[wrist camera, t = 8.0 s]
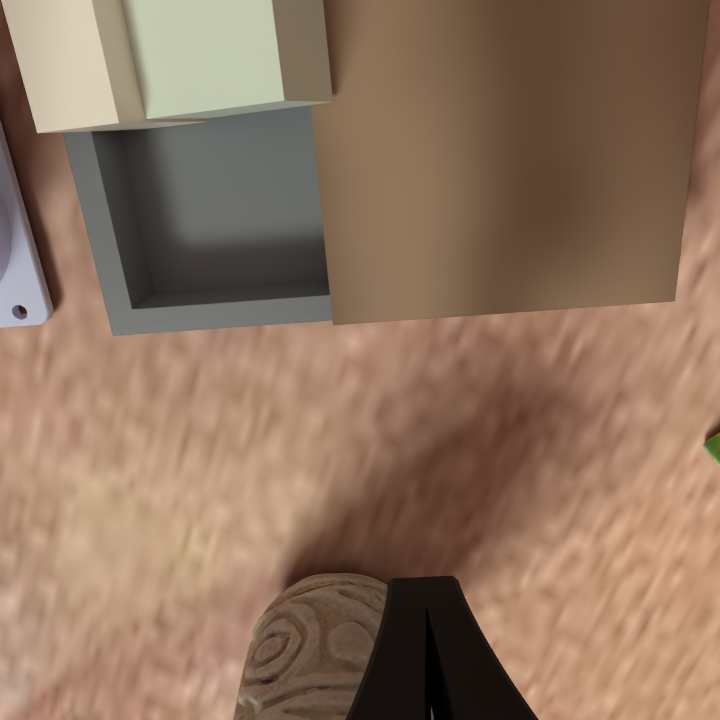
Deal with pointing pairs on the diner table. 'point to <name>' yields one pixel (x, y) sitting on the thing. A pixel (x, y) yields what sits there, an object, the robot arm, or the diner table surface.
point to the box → (205, 222)
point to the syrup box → (713, 447)
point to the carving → (312, 649)
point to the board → (505, 154)
